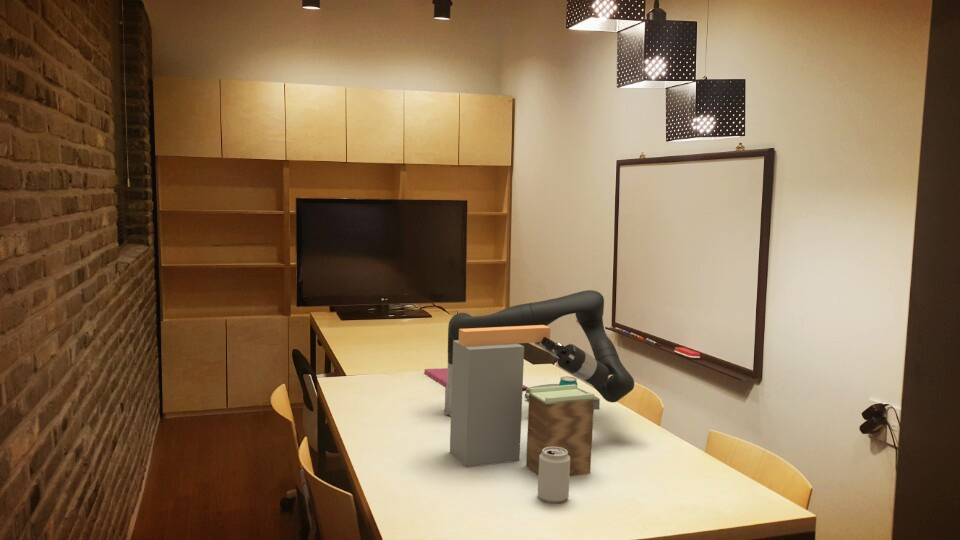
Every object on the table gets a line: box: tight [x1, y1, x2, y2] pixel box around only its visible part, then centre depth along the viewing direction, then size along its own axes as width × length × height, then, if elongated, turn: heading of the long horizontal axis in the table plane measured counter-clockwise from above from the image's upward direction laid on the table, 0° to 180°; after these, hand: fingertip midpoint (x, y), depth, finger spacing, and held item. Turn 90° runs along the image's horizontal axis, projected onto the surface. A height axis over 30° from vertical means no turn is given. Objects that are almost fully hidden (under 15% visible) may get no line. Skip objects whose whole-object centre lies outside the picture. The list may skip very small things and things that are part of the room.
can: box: [537, 447, 570, 504], centre depth 178 cm, size 8×8×12 cm
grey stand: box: [449, 340, 525, 468], centre depth 203 cm, size 16×12×32 cm
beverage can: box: [558, 376, 578, 386], centre depth 235 cm, size 6×6×15 cm
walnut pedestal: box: [525, 394, 595, 477], centre depth 196 cm, size 14×10×20 cm
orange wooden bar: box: [459, 325, 551, 347], centre depth 203 cm, size 26×4×4 cm, turn 113°
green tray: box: [528, 384, 595, 404], centre depth 195 cm, size 14×10×2 cm
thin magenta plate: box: [423, 367, 529, 392], centre depth 281 cm, size 40×4×27 cm
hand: (535, 336), depth 207 cm, fingers open, 8 cm apart
